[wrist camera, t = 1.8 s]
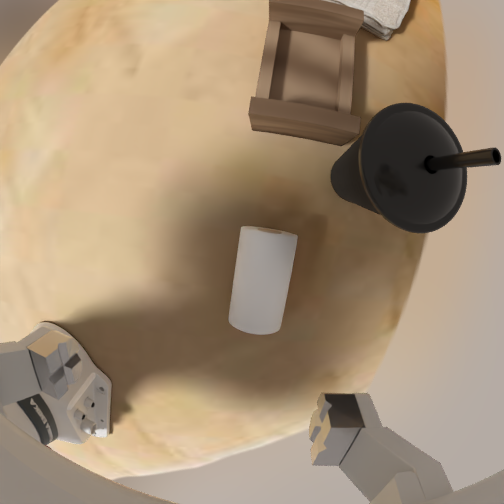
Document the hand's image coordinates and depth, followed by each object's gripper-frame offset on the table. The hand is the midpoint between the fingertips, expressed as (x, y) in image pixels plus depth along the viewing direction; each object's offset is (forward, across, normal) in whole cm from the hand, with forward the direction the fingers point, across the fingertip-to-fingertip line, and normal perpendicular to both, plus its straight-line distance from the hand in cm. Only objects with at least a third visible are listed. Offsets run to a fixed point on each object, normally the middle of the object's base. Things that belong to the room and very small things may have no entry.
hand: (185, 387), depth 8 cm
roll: (+19, -2, +2) cm, 19 cm away
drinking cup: (+22, -9, -9) cm, 25 cm away
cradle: (+22, -3, -19) cm, 29 cm away
